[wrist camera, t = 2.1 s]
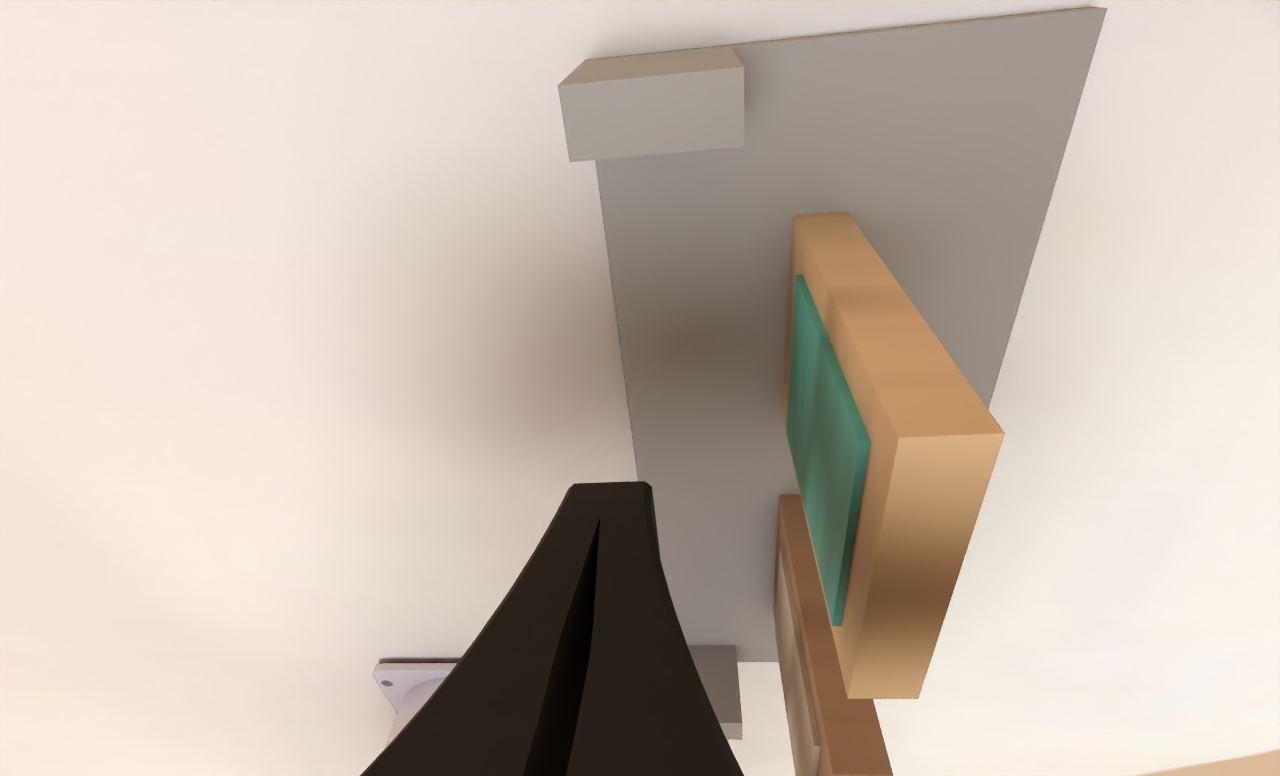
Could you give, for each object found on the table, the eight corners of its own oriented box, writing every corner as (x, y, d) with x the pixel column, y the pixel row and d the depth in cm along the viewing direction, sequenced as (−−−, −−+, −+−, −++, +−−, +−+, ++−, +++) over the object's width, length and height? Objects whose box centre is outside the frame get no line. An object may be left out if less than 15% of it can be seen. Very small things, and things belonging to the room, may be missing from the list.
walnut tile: (805, 609, 22) (859, 878, 15) (769, 609, 22) (806, 876, 16) (817, 493, 19) (893, 775, 12) (774, 495, 19) (825, 774, 12)
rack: (909, 649, 24) (940, 741, 21) (662, 650, 25) (660, 738, 22) (1092, 6, 12) (1228, 18, 9) (585, 59, 12) (557, 84, 10)
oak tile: (825, 418, 17) (917, 699, 10) (777, 420, 17) (838, 698, 10) (847, 210, 14) (1004, 433, 7) (787, 215, 14) (886, 438, 7)
